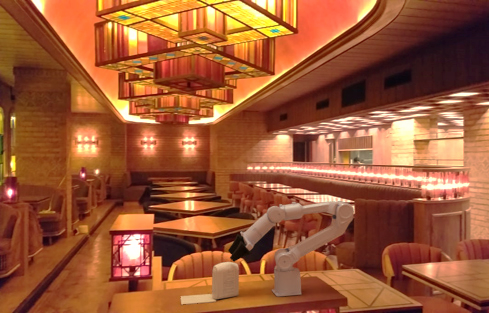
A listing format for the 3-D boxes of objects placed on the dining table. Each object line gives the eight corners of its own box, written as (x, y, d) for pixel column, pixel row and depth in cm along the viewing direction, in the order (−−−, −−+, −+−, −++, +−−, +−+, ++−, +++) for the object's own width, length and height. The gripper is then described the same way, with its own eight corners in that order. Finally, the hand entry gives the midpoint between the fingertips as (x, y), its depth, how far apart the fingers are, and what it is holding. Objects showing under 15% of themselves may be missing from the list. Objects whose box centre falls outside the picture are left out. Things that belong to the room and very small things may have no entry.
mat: (213, 294, 153) (212, 293, 153) (215, 301, 145) (215, 301, 145) (180, 297, 151) (180, 296, 151) (181, 304, 142) (181, 304, 142)
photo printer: (234, 293, 154) (234, 259, 155) (240, 295, 151) (240, 261, 151) (210, 297, 149) (210, 262, 149) (215, 300, 145) (216, 265, 146)
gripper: (247, 218, 160) (222, 242, 160) (253, 229, 146) (225, 255, 146) (259, 230, 161) (234, 254, 161) (266, 242, 147) (238, 269, 147)
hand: (230, 256), depth 154 cm, fingers open, 7 cm apart
